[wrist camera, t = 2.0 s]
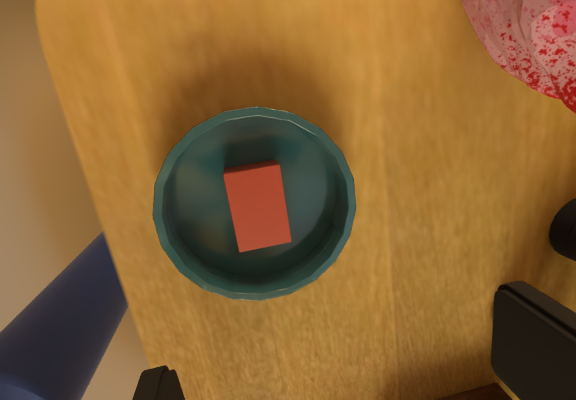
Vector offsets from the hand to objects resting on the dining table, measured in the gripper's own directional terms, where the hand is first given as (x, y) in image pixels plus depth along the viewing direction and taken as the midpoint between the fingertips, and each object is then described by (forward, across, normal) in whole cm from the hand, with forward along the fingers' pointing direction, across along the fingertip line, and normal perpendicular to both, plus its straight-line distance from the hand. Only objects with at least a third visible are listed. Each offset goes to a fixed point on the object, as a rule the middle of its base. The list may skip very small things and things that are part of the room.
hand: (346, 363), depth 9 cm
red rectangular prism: (+18, +1, 0) cm, 18 cm away
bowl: (+18, +1, 0) cm, 18 cm away
